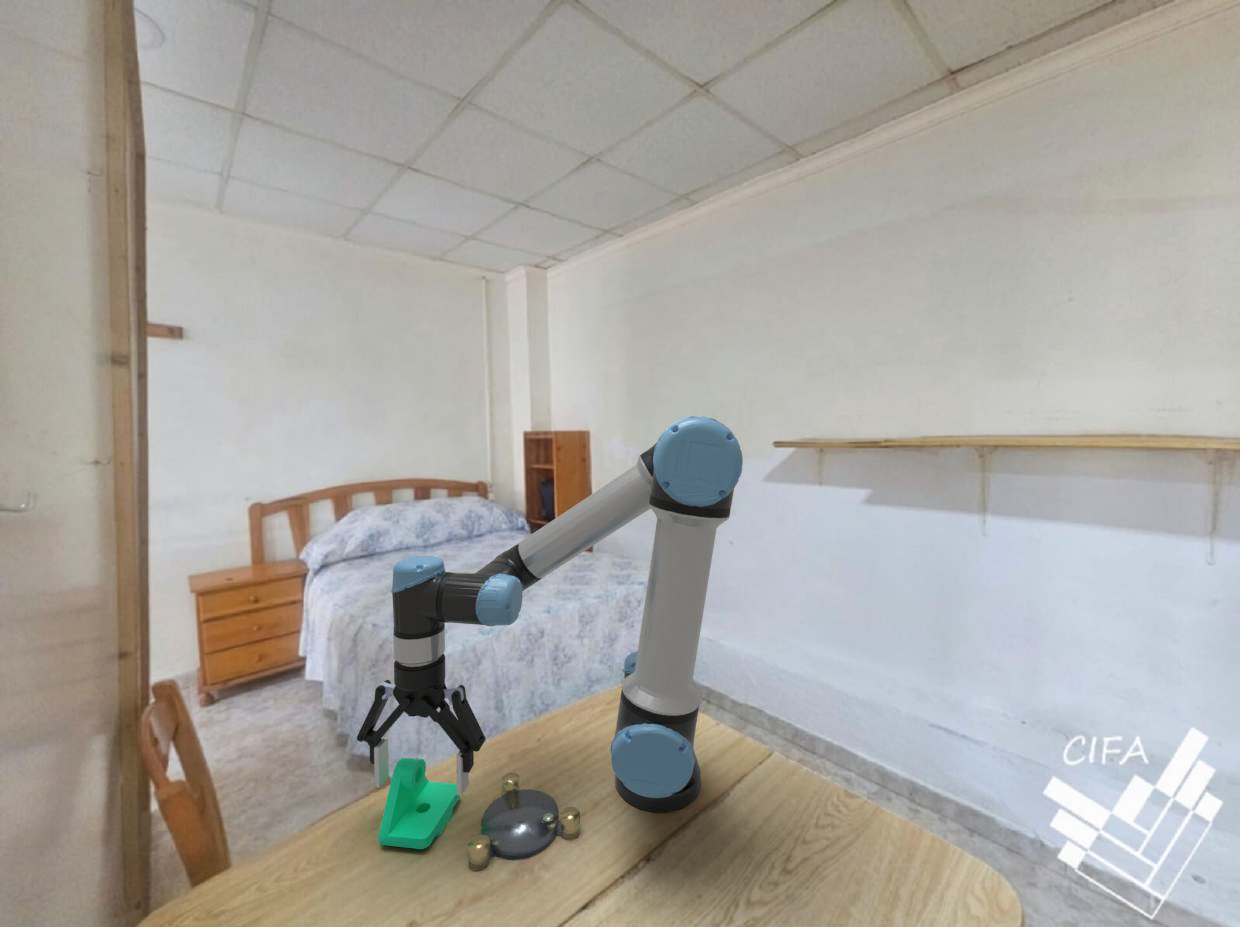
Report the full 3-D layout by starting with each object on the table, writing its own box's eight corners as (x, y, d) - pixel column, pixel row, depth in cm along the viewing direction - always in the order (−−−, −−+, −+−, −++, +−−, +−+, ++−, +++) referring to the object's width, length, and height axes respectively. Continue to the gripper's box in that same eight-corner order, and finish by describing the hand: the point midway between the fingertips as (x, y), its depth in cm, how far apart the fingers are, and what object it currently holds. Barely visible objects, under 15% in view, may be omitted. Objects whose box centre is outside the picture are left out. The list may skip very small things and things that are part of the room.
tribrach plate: (589, 794, 89) (589, 778, 89) (568, 880, 72) (568, 859, 72) (502, 788, 91) (501, 771, 90) (461, 869, 74) (461, 850, 74)
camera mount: (427, 856, 76) (424, 790, 76) (379, 851, 77) (376, 785, 77) (462, 799, 88) (461, 741, 88) (420, 795, 89) (418, 737, 89)
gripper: (505, 651, 83) (505, 776, 85) (360, 641, 86) (363, 763, 88) (487, 673, 76) (488, 810, 77) (329, 662, 79) (333, 794, 80)
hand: (422, 785), depth 82 cm, fingers open, 13 cm apart
